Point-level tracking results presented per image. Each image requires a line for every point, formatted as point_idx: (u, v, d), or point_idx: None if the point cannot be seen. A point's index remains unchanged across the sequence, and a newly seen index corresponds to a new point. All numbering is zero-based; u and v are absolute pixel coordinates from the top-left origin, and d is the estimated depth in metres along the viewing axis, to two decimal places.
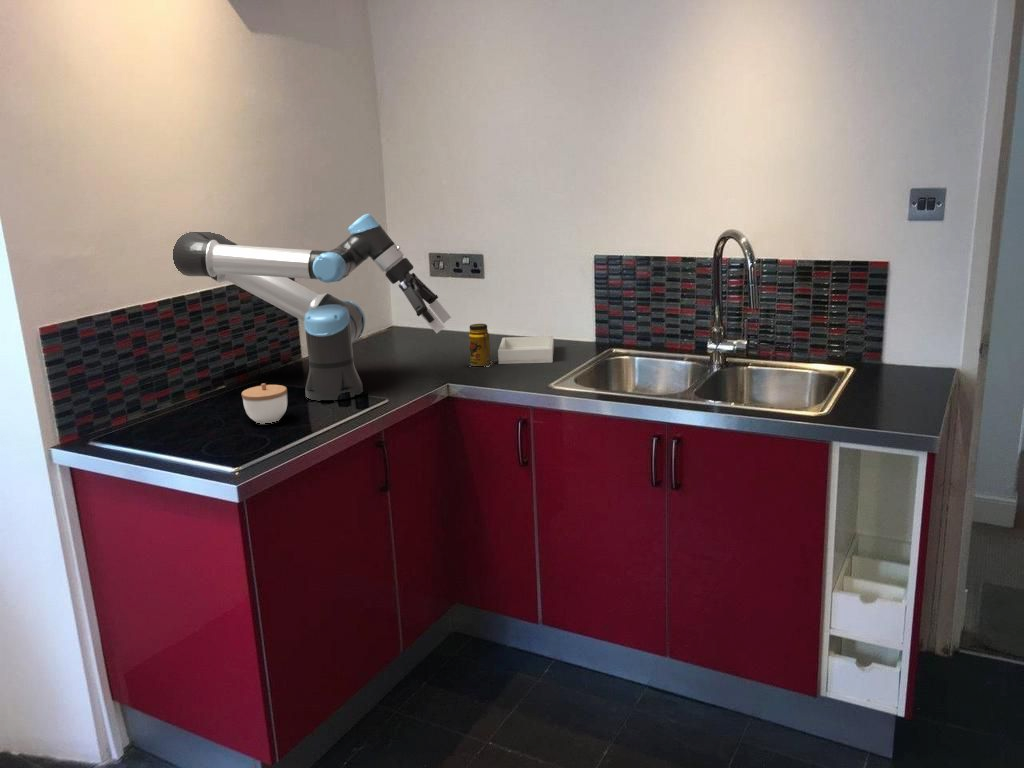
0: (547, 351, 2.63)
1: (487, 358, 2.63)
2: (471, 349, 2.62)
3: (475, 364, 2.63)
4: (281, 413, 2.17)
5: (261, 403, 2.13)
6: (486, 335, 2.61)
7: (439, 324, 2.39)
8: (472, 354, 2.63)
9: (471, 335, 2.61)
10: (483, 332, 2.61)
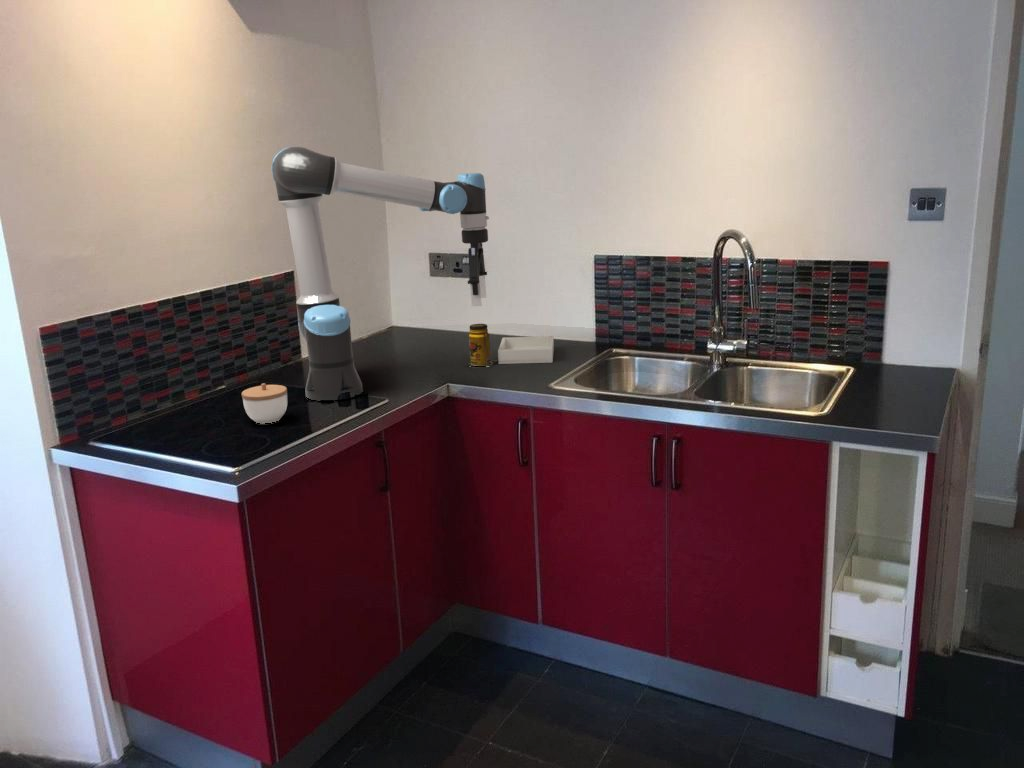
0: (547, 351, 2.63)
1: (487, 358, 2.63)
2: (471, 349, 2.62)
3: (475, 364, 2.63)
4: (281, 413, 2.17)
5: (261, 403, 2.13)
6: (486, 335, 2.61)
7: (479, 301, 2.54)
8: (472, 354, 2.63)
9: (471, 335, 2.61)
10: (483, 332, 2.61)
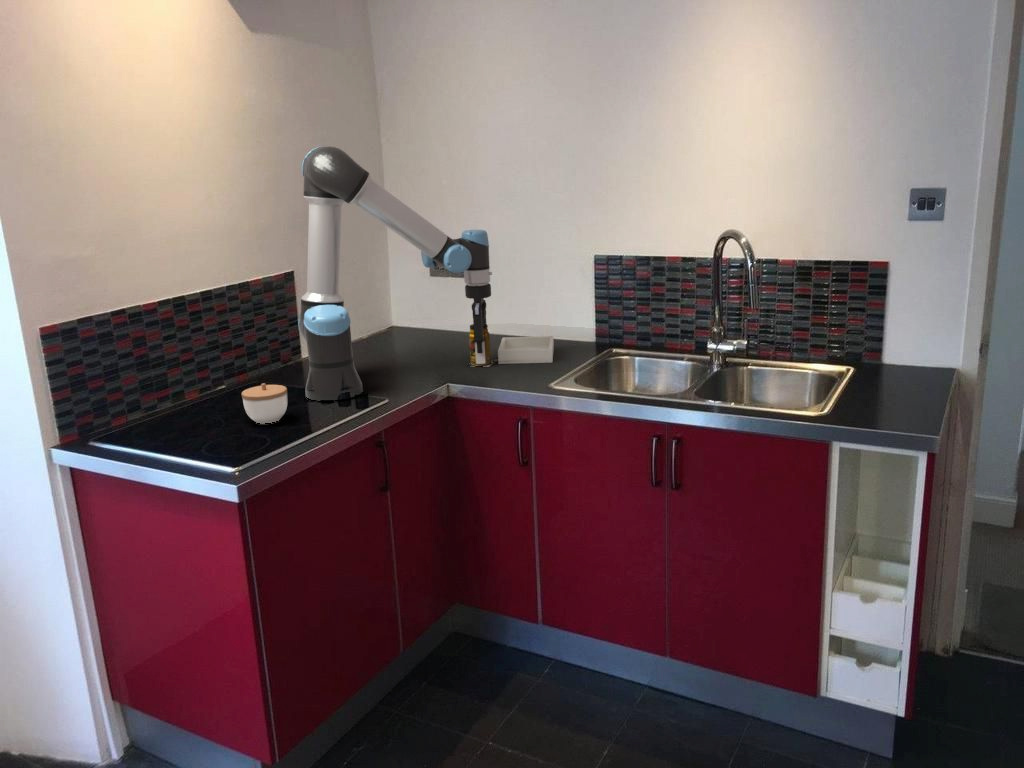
0: (547, 351, 2.63)
1: (487, 358, 2.63)
2: (471, 348, 2.63)
3: (475, 364, 2.63)
4: (281, 413, 2.17)
5: (261, 403, 2.13)
6: (486, 335, 2.62)
7: (483, 358, 2.61)
8: (472, 354, 2.63)
9: (471, 335, 2.62)
10: (483, 332, 2.61)
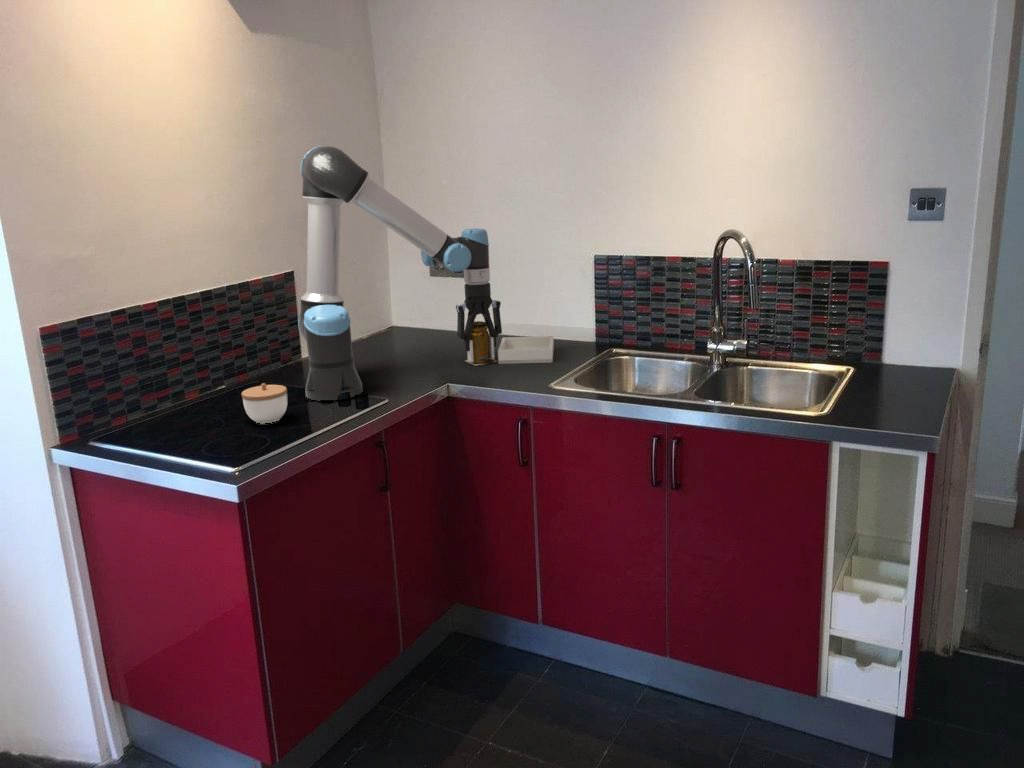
0: (547, 351, 2.63)
1: (479, 357, 2.64)
2: None
3: None
4: (281, 413, 2.17)
5: (261, 403, 2.13)
6: (480, 334, 2.62)
7: (470, 357, 2.63)
8: None
9: None
10: (476, 331, 2.62)
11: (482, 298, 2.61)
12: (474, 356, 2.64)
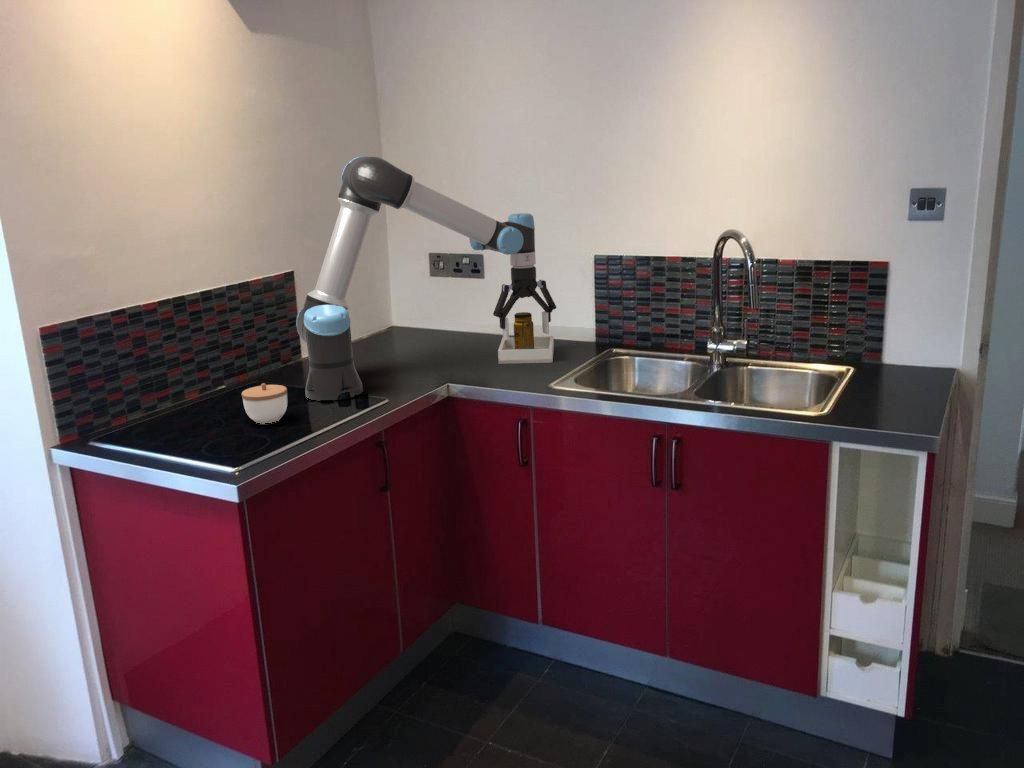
0: (547, 351, 2.63)
1: (525, 346, 2.70)
2: (514, 335, 2.73)
3: None
4: (281, 413, 2.17)
5: (261, 403, 2.13)
6: (525, 324, 2.69)
7: (506, 335, 2.67)
8: (514, 340, 2.73)
9: (514, 322, 2.72)
10: (522, 321, 2.69)
11: (527, 284, 2.66)
12: (520, 346, 2.71)
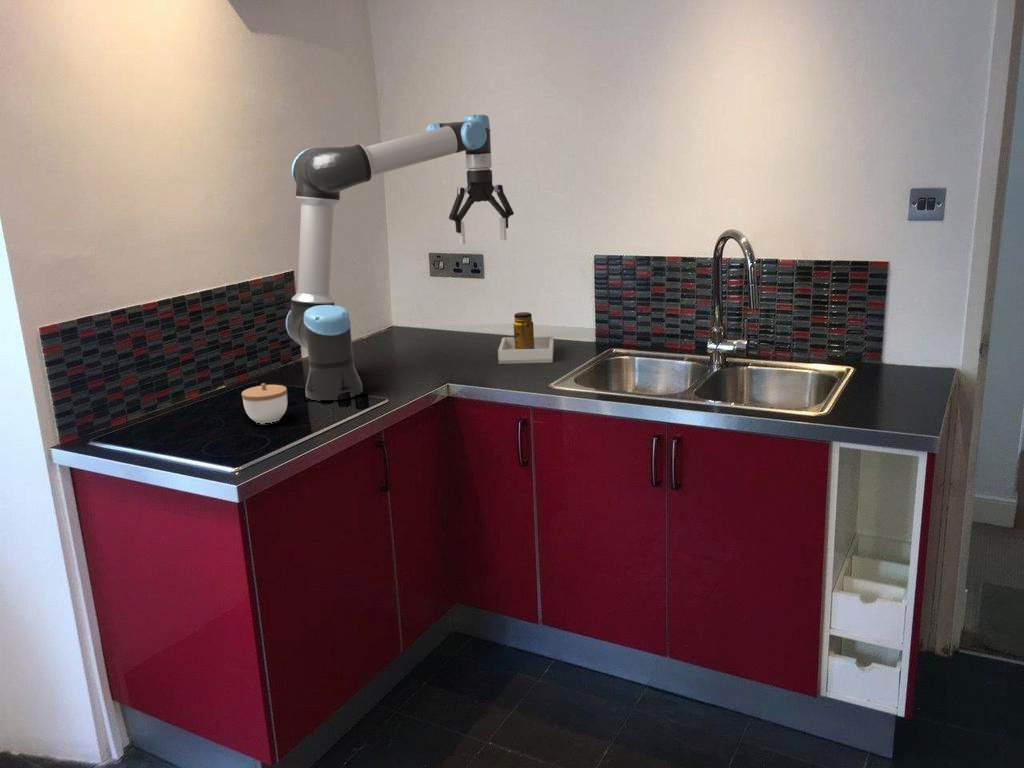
0: (547, 351, 2.63)
1: (525, 346, 2.70)
2: (514, 335, 2.73)
3: None
4: (281, 413, 2.17)
5: (261, 403, 2.13)
6: (525, 324, 2.69)
7: (462, 239, 2.64)
8: (514, 340, 2.73)
9: (514, 322, 2.72)
10: (522, 321, 2.69)
11: (483, 188, 2.64)
12: (520, 346, 2.71)
